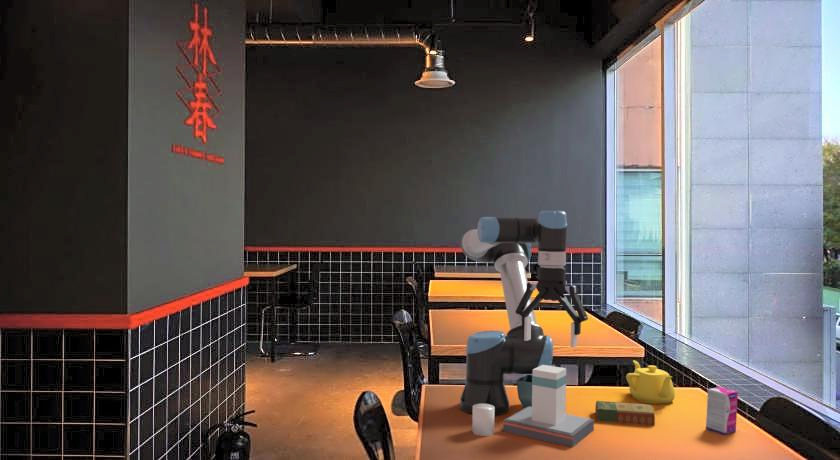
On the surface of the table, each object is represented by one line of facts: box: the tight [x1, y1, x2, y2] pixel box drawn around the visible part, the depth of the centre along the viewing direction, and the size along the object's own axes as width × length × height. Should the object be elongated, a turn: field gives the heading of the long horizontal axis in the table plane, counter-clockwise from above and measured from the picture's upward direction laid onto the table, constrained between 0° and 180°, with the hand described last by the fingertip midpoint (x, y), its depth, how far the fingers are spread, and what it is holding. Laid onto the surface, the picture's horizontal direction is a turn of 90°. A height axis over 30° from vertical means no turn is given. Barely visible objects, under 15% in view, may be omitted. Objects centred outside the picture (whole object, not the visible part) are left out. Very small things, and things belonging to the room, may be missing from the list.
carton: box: [594, 400, 656, 427], centre depth 183 cm, size 8×16×4 cm, turn 77°
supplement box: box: [705, 386, 739, 435], centre depth 175 cm, size 6×6×12 cm
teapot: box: [625, 360, 676, 405], centre depth 204 cm, size 22×16×11 cm
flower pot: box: [515, 374, 532, 409], centre depth 193 cm, size 9×9×9 cm
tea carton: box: [531, 365, 567, 425], centre depth 172 cm, size 7×7×14 cm
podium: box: [502, 406, 595, 448], centre depth 172 cm, size 20×16×3 cm
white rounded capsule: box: [471, 404, 496, 437], centre depth 170 cm, size 6×6×7 cm
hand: (550, 343), depth 172 cm, fingers open, 13 cm apart
